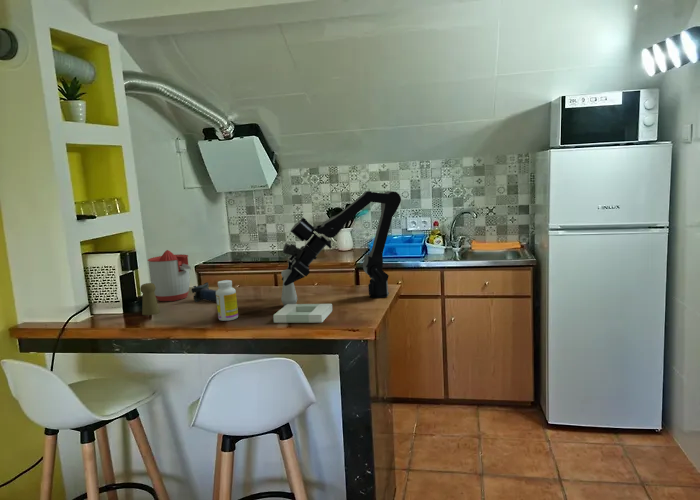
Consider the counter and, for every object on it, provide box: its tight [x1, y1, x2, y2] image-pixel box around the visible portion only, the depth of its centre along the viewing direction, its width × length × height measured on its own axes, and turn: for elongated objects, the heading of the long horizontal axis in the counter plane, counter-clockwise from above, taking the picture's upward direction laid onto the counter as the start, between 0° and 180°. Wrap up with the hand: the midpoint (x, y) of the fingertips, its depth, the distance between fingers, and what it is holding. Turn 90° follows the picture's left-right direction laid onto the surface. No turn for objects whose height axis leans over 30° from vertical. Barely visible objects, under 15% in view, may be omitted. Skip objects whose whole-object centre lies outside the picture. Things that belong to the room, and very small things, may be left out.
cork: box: [139, 282, 160, 316], centre depth 199 cm, size 6×6×11 cm
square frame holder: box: [272, 303, 333, 324], centre depth 182 cm, size 16×14×2 cm
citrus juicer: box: [147, 249, 192, 302], centre depth 221 cm, size 16×17×20 cm
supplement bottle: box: [216, 279, 239, 322], centre depth 184 cm, size 7×7×13 cm
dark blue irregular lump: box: [191, 282, 217, 303], centre depth 214 cm, size 9×8×12 cm
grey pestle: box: [280, 269, 298, 307], centre depth 198 cm, size 6×6×13 cm
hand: (283, 282), depth 197 cm, fingers open, 9 cm apart
